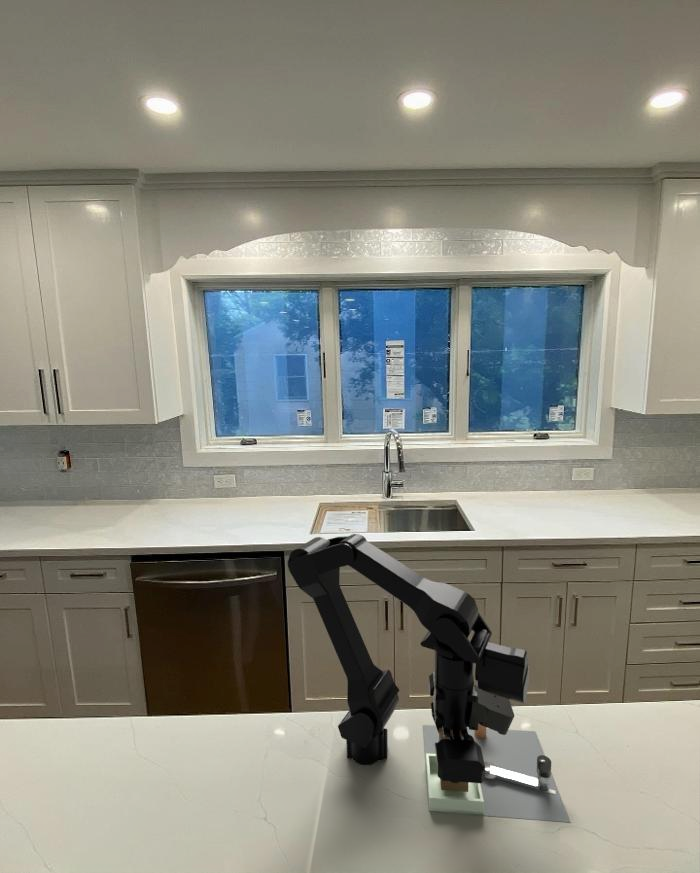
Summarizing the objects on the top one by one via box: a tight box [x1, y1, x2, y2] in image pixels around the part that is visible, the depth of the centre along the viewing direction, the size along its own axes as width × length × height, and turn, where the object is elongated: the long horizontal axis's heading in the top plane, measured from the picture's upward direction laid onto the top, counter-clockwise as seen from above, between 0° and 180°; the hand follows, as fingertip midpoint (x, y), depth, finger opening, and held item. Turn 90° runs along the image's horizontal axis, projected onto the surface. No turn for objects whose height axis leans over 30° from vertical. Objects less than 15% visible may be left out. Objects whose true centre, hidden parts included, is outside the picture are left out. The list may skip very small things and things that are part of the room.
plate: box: [422, 723, 571, 824], centre depth 73 cm, size 20×16×5 cm
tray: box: [425, 753, 484, 816], centre depth 70 cm, size 8×8×2 cm
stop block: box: [439, 728, 468, 792], centre depth 69 cm, size 4×4×7 cm
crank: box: [484, 755, 552, 791], centre depth 71 cm, size 10×3×5 cm, turn 69°
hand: (452, 769), depth 70 cm, fingers closed on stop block, 4 cm apart
